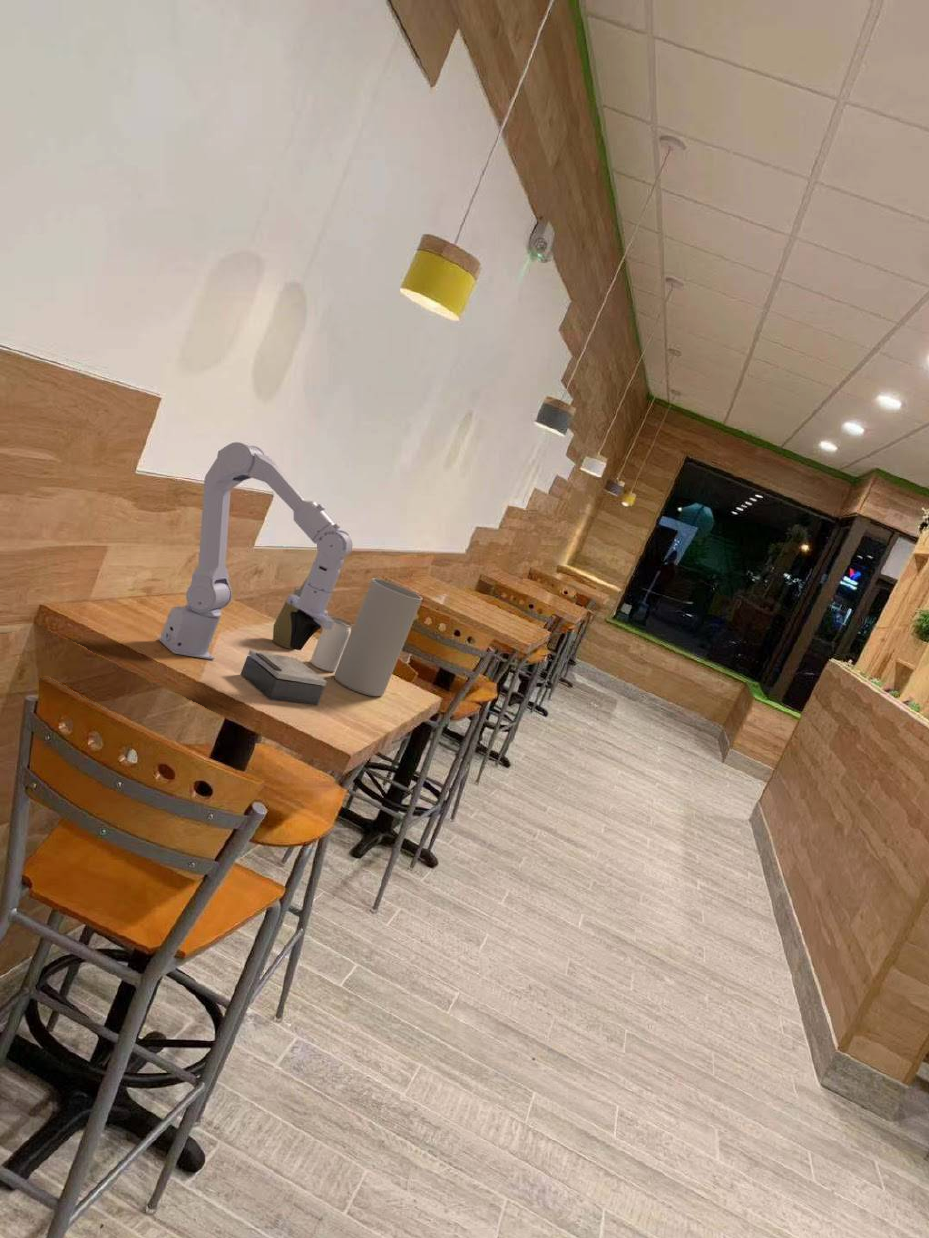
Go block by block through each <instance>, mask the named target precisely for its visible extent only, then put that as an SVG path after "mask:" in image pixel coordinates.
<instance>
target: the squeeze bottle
mask: <svg viewBox="0 0 929 1238" xmlns="http://www.w3.org/2000/svg"><path fill="white" fill-rule="evenodd" d="M307 578H308V576H307V577H306V579H305V580H304V582H303V583H302V585H301V586H300V587H296V588H295V589H294V591H293V594H292V595H296V596H298V597H300V596H301V593H302V590H303V588H304V585H305V583H306V580H307ZM287 599H288V597H287V598H286V600H285V602H284V604H283V606H282V608H281V610H280V612H279V614H278V615H277V618H276V620H275V621H274V624H273V629H272V632H273V633H272V642H273V643H275V644H276V645H278V646H280V647H282V648H285V649H288V650H289V649H290V650H293V649H292V648H291V647H290V640H291V631H292V623H291V616H290V613H291V612H292V611H293V612H297V611H298V609H297V608H295V607H294V606H293V605H291V604H288V603H287Z"/></svg>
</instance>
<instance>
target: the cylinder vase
mask: <svg viewBox="0 0 929 1238" xmlns="http://www.w3.org/2000/svg"><path fill="white" fill-rule="evenodd" d="M422 601H423V597H422V596H421V595H420V594H418V593H416V592H414V591H412V590H410V589H408V588H406V587H404V586H401V585H398V584H396V583H393V582H391V581H387V580H385V579H381V578H376V577H374V578H372V579H371V580H370V583H369V586H368V589H367V591H366V594H365V597H364V599H363V601H362V603H361V606H360V609H359V611H358V614H357V617H356V619H355V621H354V625H353V627H352V628H351V633H350V636H349V638H348V641H347V643H346V646H345V648H344V651H343V653H342V656H341V658H340V661H339V663H338V666H337V668H336V670H335V671H334V678H335V680H336V681H337V682H338V683H339V684H340V685H342V686H344V687H345V688H348V689H349V690H352V691H353V692H355V693H359V694H361V695H365V696H370V697H382V696H383V695H384V694H385V692H386V690H387V687H388V684H389V682H390V679H391V677H392V675H393V673H394V670H395V667H396V665H397V662H398V659H399V657H400V655H401V653H402V650H403V647H404V645H405V643H406V641H407V639H408V636H409V633H410V631H411V628H412V626H413V624H414V620H415V618H416V616H417V613H418V610H419V609H420V606H421V603H422Z"/></svg>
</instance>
